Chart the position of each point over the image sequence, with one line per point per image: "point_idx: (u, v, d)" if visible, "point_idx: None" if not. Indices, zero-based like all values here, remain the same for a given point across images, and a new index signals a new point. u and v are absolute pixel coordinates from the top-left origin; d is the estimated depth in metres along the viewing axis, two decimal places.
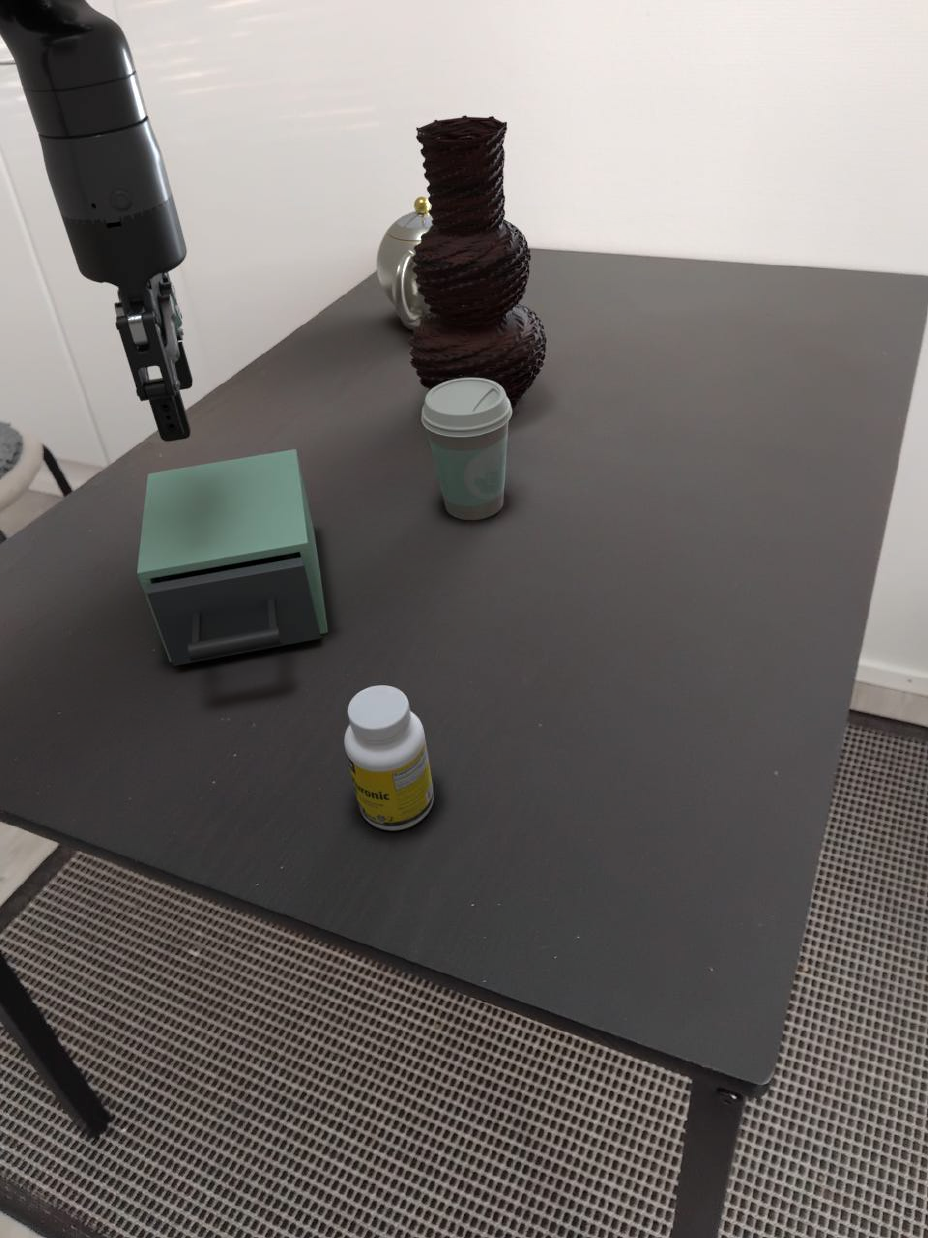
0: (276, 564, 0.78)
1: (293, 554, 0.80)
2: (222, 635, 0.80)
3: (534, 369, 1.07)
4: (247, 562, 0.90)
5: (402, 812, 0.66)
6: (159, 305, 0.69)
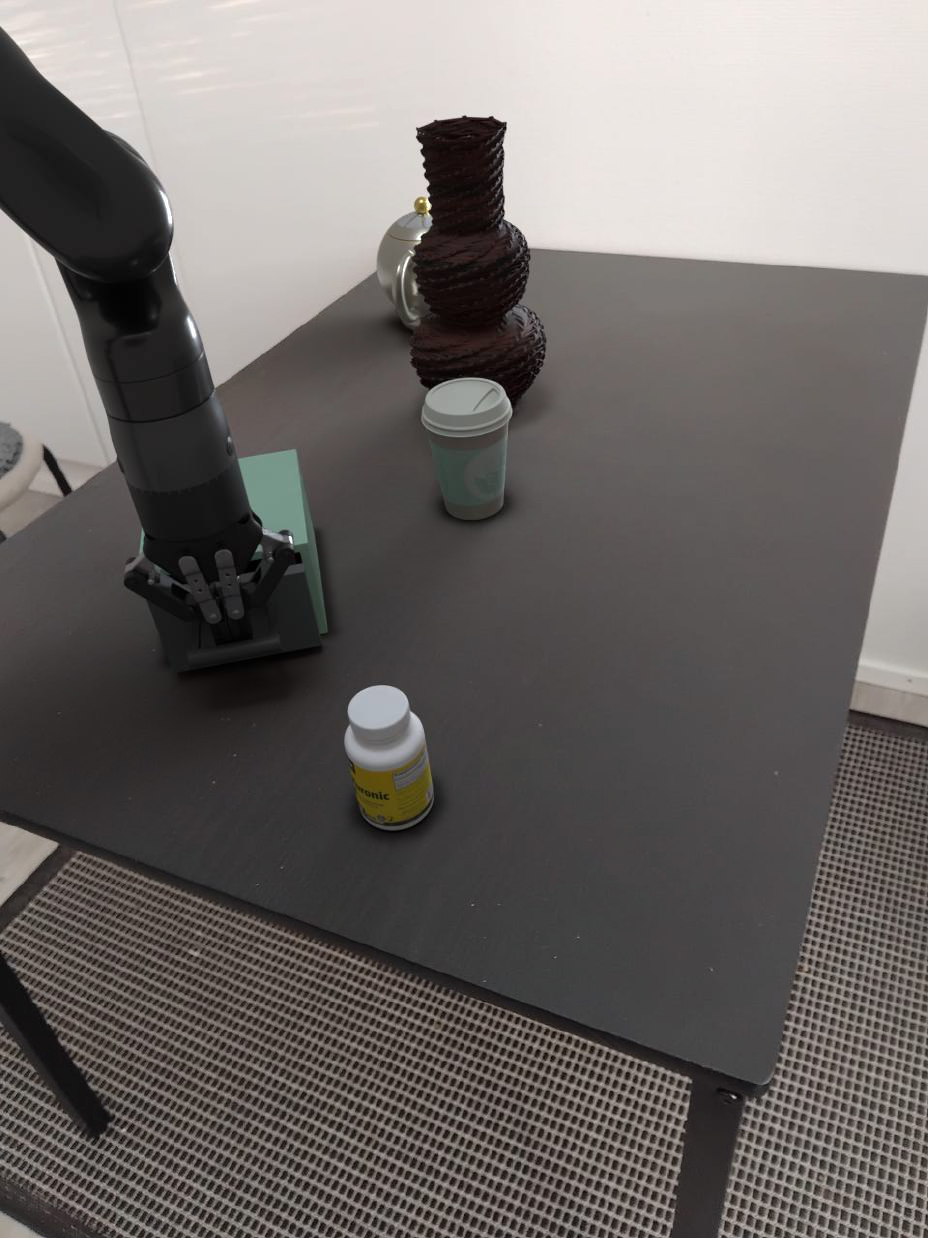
0: None
1: (294, 560, 0.79)
2: None
3: (534, 369, 1.07)
4: (247, 567, 0.90)
5: (402, 812, 0.66)
6: (175, 556, 0.69)
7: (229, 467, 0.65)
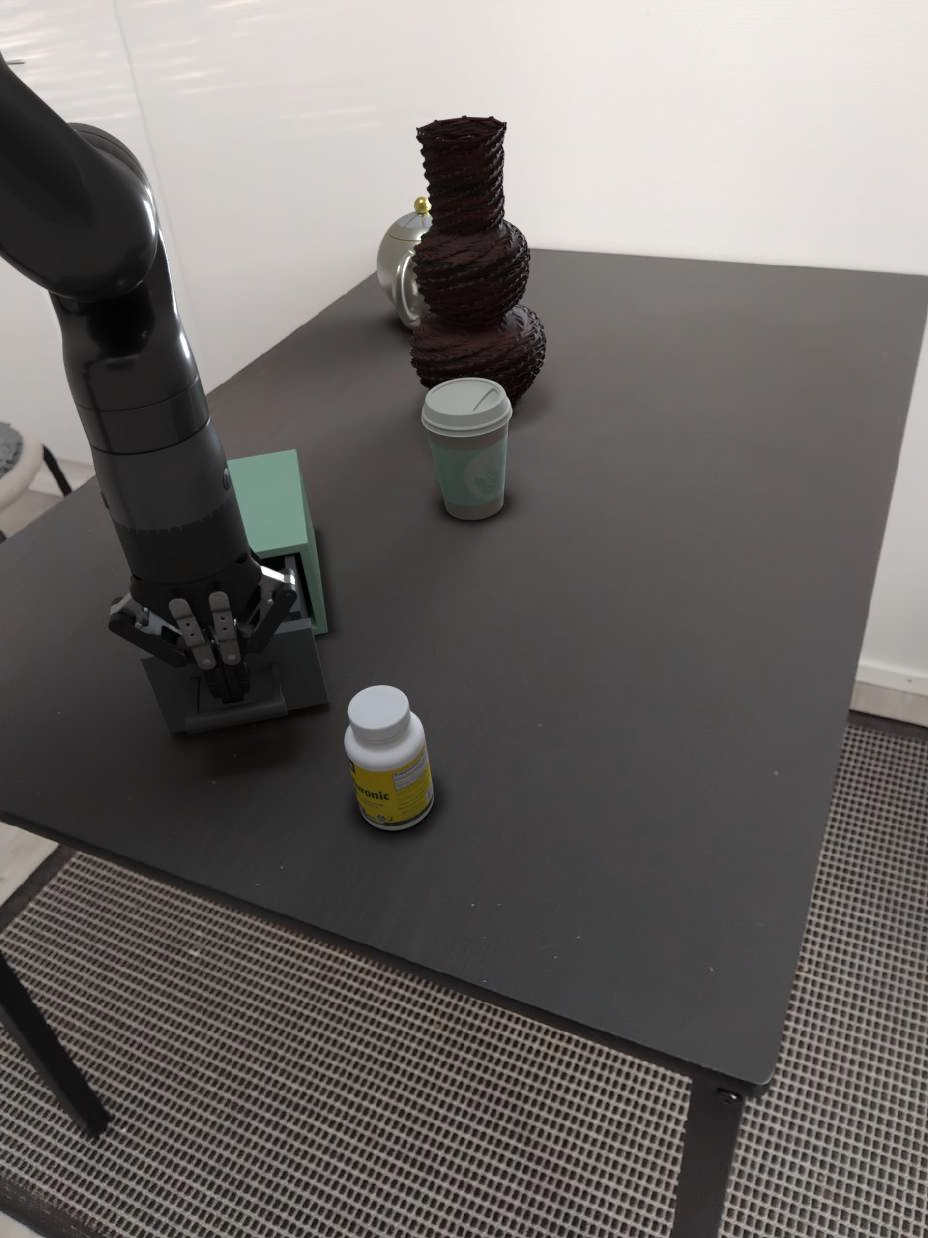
0: (281, 625, 0.72)
1: (299, 614, 0.74)
2: None
3: (534, 369, 1.07)
4: (249, 615, 0.84)
5: (402, 812, 0.66)
6: (166, 597, 0.63)
7: (225, 503, 0.59)
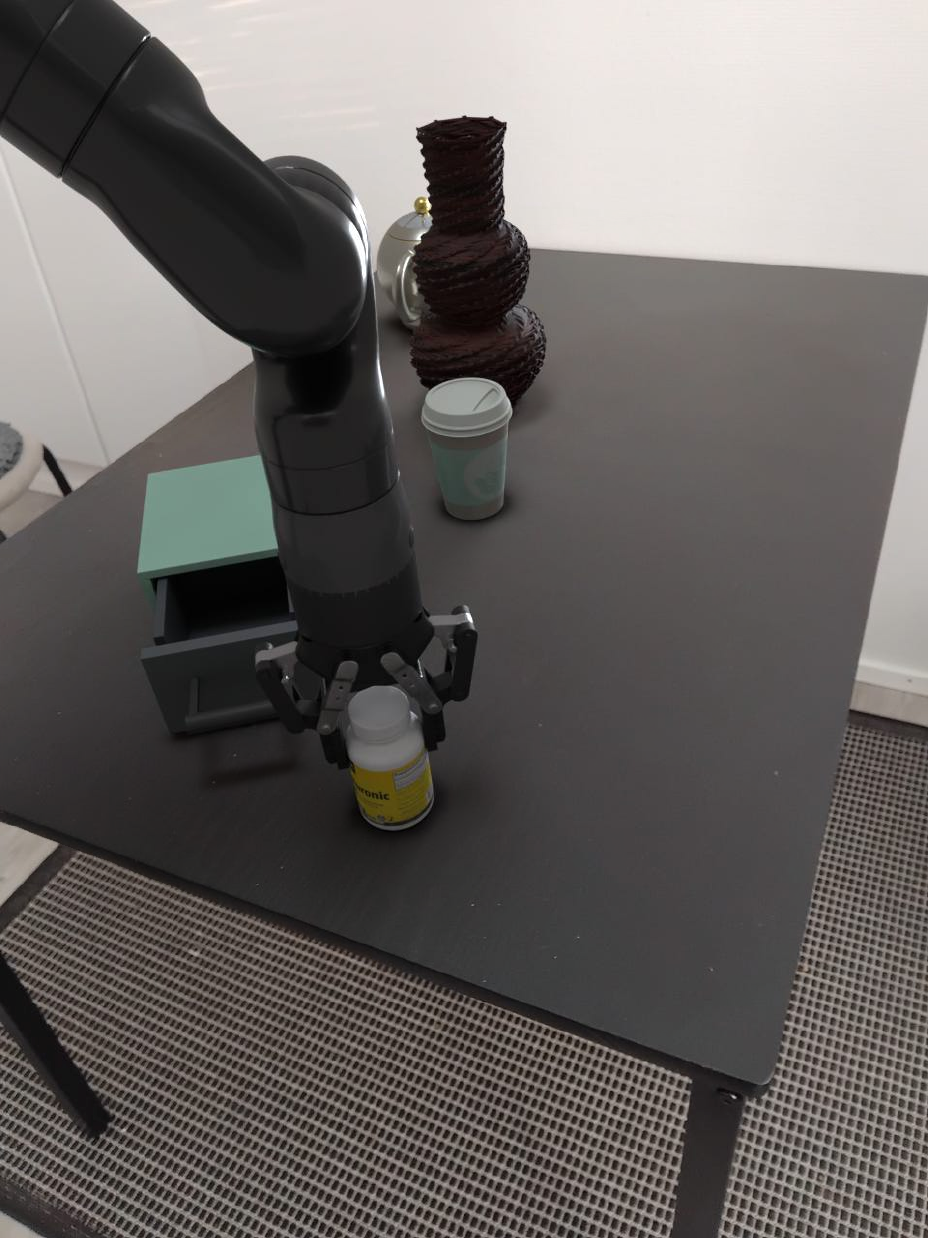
0: (281, 625, 0.72)
1: None
2: (222, 701, 0.74)
3: (534, 369, 1.07)
4: (249, 615, 0.84)
5: (402, 811, 0.66)
6: (333, 659, 0.59)
7: (410, 561, 0.54)
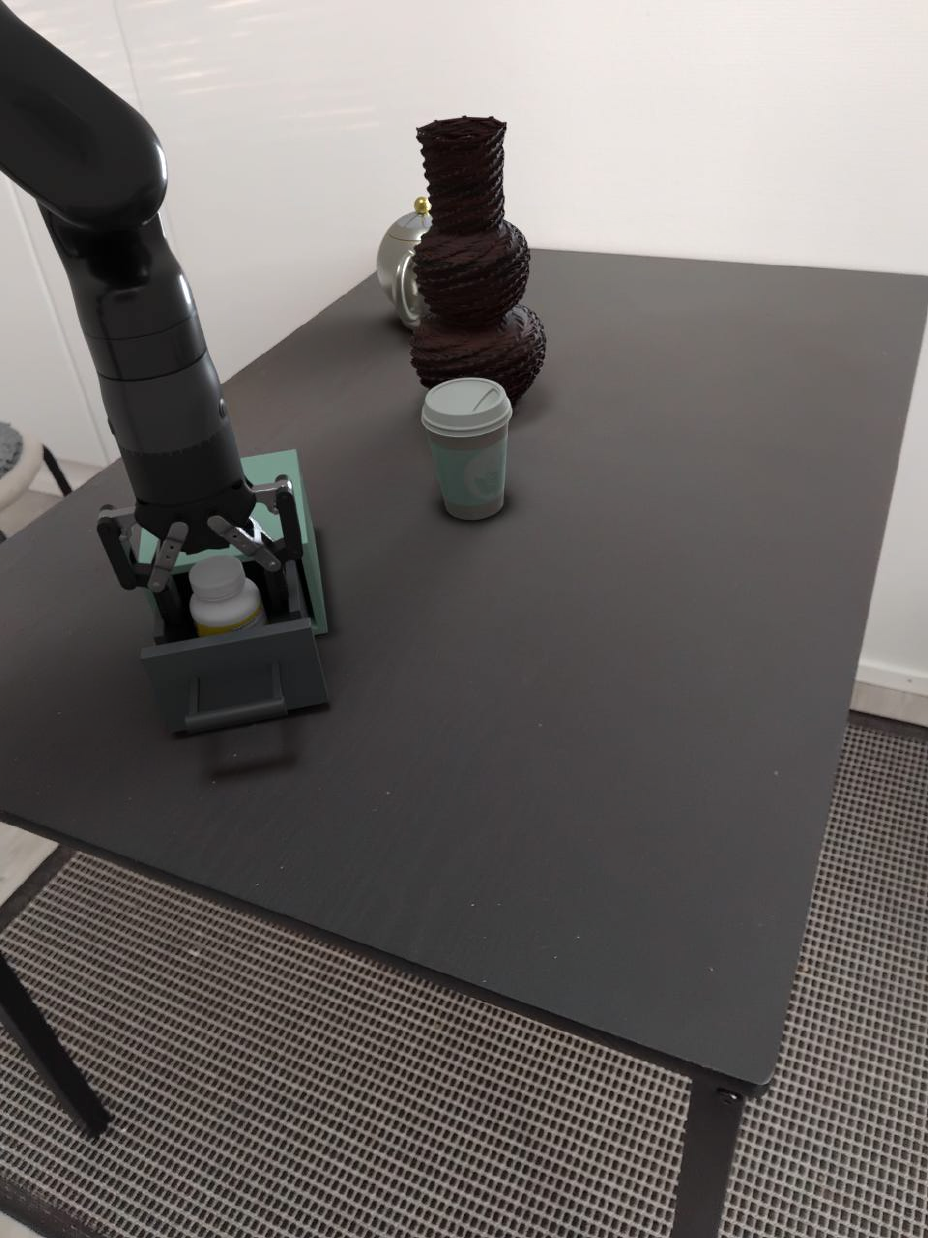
0: (281, 625, 0.72)
1: (299, 613, 0.74)
2: (222, 700, 0.74)
3: (534, 369, 1.07)
4: None
5: None
6: (167, 522, 0.68)
7: (222, 430, 0.64)
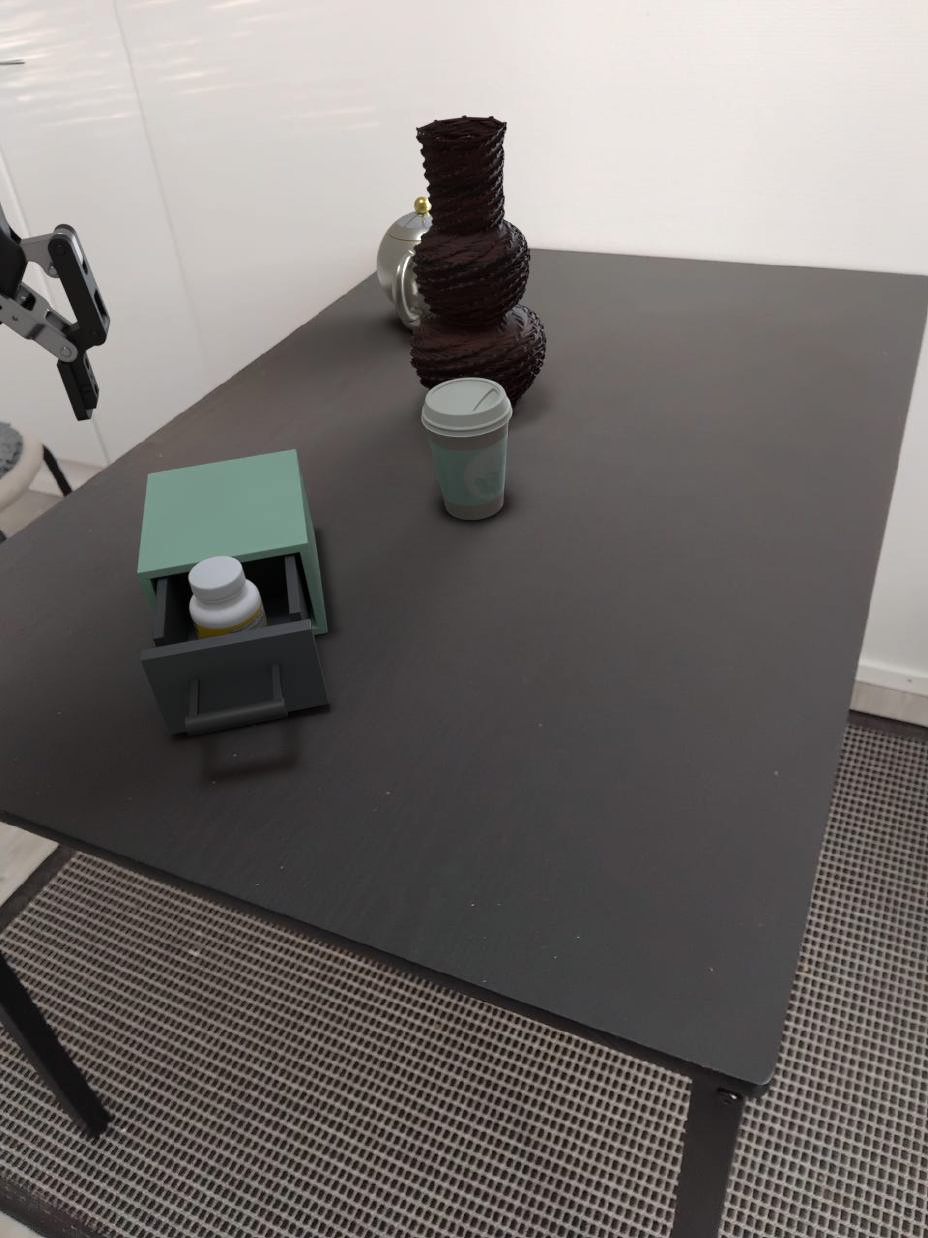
0: (281, 627, 0.72)
1: (299, 615, 0.74)
2: (222, 702, 0.74)
3: (534, 369, 1.07)
4: None
5: None
6: None
7: None
